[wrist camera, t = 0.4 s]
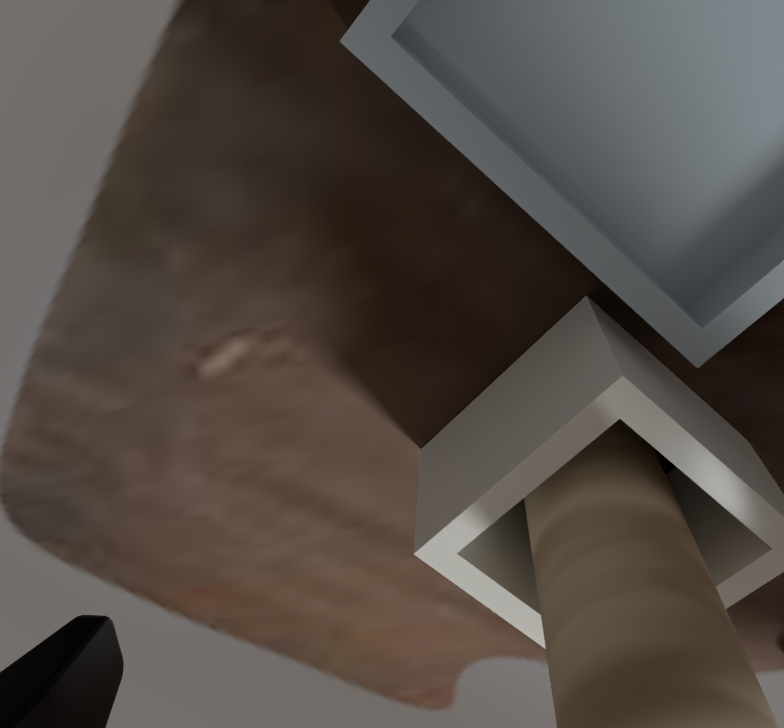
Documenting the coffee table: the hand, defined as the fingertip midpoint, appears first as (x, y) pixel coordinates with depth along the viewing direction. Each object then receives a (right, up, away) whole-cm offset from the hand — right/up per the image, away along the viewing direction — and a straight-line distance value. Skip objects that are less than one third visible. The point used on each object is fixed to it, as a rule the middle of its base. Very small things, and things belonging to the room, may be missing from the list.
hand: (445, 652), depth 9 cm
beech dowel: (+5, +1, +14) cm, 15 cm away
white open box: (+5, +1, +14) cm, 15 cm away
